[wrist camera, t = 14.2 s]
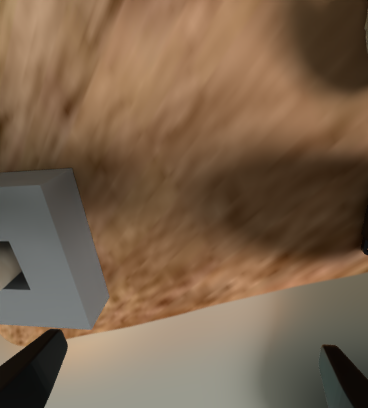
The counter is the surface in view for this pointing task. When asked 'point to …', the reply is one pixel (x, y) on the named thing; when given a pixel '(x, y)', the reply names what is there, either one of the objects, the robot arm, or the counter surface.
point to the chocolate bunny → (367, 28)
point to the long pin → (7, 264)
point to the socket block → (49, 252)
